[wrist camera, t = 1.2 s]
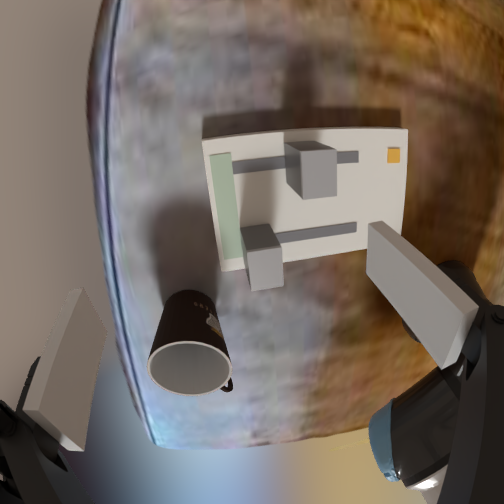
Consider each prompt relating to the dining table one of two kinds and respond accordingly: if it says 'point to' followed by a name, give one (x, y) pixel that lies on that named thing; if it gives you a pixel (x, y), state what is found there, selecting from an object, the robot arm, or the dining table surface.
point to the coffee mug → (190, 347)
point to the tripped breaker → (311, 169)
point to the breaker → (262, 257)
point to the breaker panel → (291, 204)
